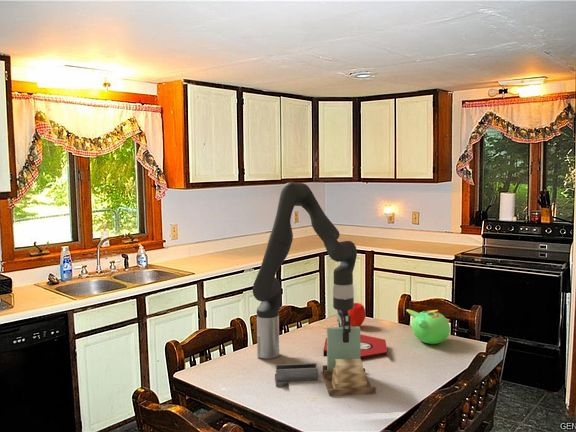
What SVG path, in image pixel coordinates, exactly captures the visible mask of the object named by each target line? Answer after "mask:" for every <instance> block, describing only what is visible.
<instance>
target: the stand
mask: <svg viewBox="0 0 576 432" xmlns="http://www.w3.org/2000/svg"><path fill="white" fill-rule="evenodd" d="M275 371H276V372H275V373H274V381H275V387H289V386H290V385H289V383H295V382H297V383H298V382H299V383H300V382H316V381H318V382H319V381H321V380H320V377H319V368H318V367H317V362H310V363H308V362H307V363H304V362H303V363H285V364H284V363H283V364H282V363H281V364H275Z"/></svg>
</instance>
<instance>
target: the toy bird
mask: <svg viewBox="0 0 576 432" xmlns="http://www.w3.org/2000/svg"><path fill="white" fill-rule="evenodd" d="M405 311H406V312H407V313H408V314H409V315H410V316H411V317H413V319H412V321H411V330H412V332H413V335H414V336H415V337H416V338H417V339H418V340H419V341H420V342H422V343H426V344H429V345H435V344H440V343H443V342H444V341H446V340H447V339H448V337H449V336H450V332H451V325H450V323H449V321H448V319H447V317H445V315H443V314H442V313H440V312H438V311H439V309H433V310H423V311H421V312H417V311H415V310H412V309H409V308H408V309H406V310H405Z"/></svg>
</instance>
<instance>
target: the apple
mask: <svg viewBox="0 0 576 432" xmlns="http://www.w3.org/2000/svg"><path fill="white" fill-rule="evenodd" d="M348 314H350V317H351V318H350V325H351V327H355V326H359V327H361V326H362V324H363V323H364V321H365V319H366V309H365V307H364V305H363V304H362V303H359V302H354V308H353V309H351V310H348Z"/></svg>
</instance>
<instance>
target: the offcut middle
mask: <svg viewBox="0 0 576 432" xmlns="http://www.w3.org/2000/svg"><path fill="white" fill-rule="evenodd" d="M333 377H334V379H335V380H336V382H337V383H338V384H340V383H353V382H365V381H366V377H367V375H366V371H365V372H364V370H363V373H361V374H337V372H336V368H333Z"/></svg>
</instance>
